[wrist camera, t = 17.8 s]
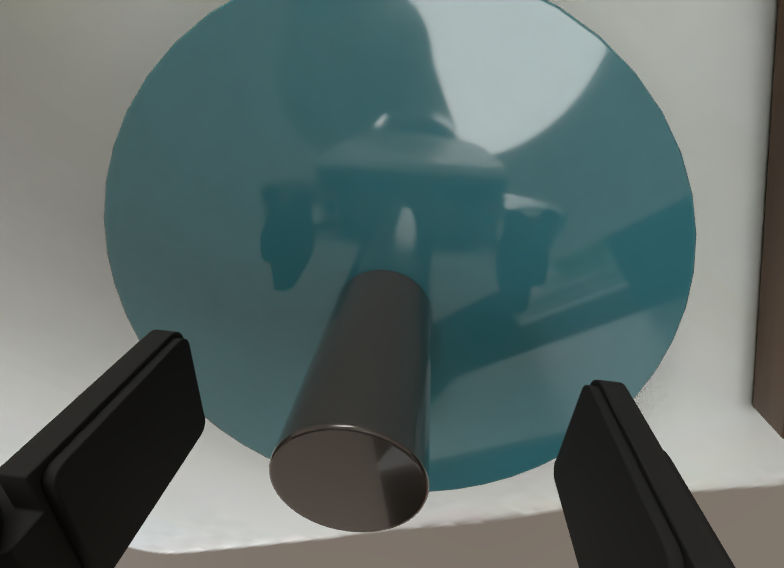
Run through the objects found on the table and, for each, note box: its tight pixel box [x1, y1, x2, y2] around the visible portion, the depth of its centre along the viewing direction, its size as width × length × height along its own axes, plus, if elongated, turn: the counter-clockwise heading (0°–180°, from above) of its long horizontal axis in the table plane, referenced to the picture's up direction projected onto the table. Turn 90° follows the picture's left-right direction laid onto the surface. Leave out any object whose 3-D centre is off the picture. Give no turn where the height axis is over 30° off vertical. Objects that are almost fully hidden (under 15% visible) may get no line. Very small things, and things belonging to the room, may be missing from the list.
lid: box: [104, 0, 696, 532], centre depth 11 cm, size 18×18×7 cm
